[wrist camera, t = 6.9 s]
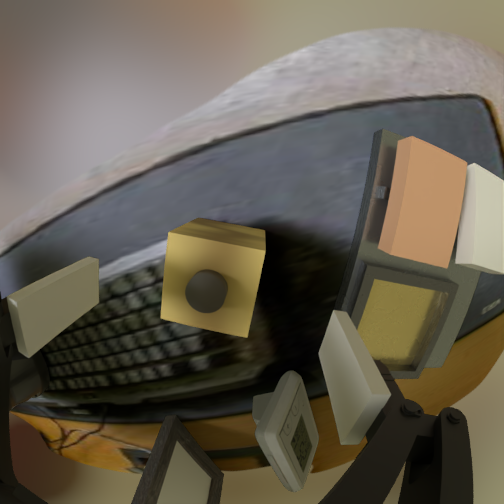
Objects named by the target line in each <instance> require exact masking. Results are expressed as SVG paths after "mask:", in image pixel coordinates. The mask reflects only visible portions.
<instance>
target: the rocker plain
mask: <svg viewBox="0 0 504 504" xmlns="http://www.w3.org/2000/svg"><path fill="white" fill-rule="evenodd" d="M455 264H459V265H462V266H466V267H469V268H473V269H476V270H480V271H483V272H487V273H490V274H504V181H503V180H501V179H500V178H498V177H497V176H495V175H494V174H492V173H490V172H489V171H487V170H486V169H484V168H482V167H481V166H479V165H477V164H475V163H473V164H471V165H469V166H467V171H466V180H465V188H464V195H463V201H462V207H461V213H460V218H459V229H458V241H457V252H456V260H455Z"/></svg>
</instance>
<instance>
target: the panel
mask: <svg viewBox="0 0 504 504" xmlns="http://www.w3.org/2000/svg"><path fill="white" fill-rule="evenodd" d="M405 138H406V137H403V136H400V135H398V134H395V133H393V132H390V131H387V130H385V129H381V130H379V131H377V132H375V133H374V137H373V144H372V150H371V156H370V162H369V168H368V174H367V179H366V184H365V189H364V194H363V199H362V204H361V208H360V213H359V217H358V222H357V226H356V230H355V234H354V239H353V243H352V246H351V250H350V254H349V258H348V262H347V265H346V269H345V272H344V276H343V280H342V283H341V286H340V290H339V293H338V296H337V300H336V303H335V306H334V309H333V310H337V311H343V312H347V314H348V315H349V317H350V319H351V321H352V322H353V324H354V326H355V328H356V330H357V331H358V333H359V335H360V337H361V339H362V340H363V342H364V344H365V346H366V348H367V349H368V351H369V353H370V355H371V357H372V359H373V360H380V361H381V362H382V363H383V364H384V365H385V366H387V368H388V370H389V371H390V373H391V375H392V377H393V378H394V379H418V378H419V376H420V374H421V372H422V371H423V369H424V368H437V367H442V365H443V363H444V361H445V359H446V357H447V355H448V353H449V351H450V349H451V347H452V345H453V343H454V341H455V339H456V337H457V334H458V332H459V330H460V328H461V325H462V323H463V320H464V318H465V316H466V313H467V311H468V308H469V305H470V303H471V300H472V297H473V294H474V291H475V289H476V286H477V283H478V279H479V276H480V273H481V271H480V270H476V269H473V268H469V267H466V266H462V265H459V264H455V260H456V252H457V241H458V229H459V223H458V228H457V233H456V237H455V242H454V246H453V250H452V254H451V257H450V261H449V265H448V268H447V269H446V268H443V267H439V266H435V265H431V264H427V263H423V262H418V261H414V260H410V259H406V258H402V257H398V256H394V255H390V254H388V253H386V252H384V251H382V250H380V249H378V245H379V241H380V237H381V233H382V229H383V224H384V220H385V215H386V210H387V206H388V201H389V195H390V190H391V184H392V179H393V173H394V166H395V160H396V152H397V145H398V141H399V140H402V139H405ZM330 319H331V318H330ZM329 322H330V321H329ZM328 325H329V324H328Z"/></svg>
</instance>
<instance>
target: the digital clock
mask: <svg viewBox="0 0 504 504" xmlns="http://www.w3.org/2000/svg"><path fill="white" fill-rule="evenodd" d="M252 416H253V419H254V421H255V423H256V425H257V428H256V430H255V437H256V439H257V441H258V443H259V445H260V447H261V449H262V451H263V452H264V454H265V456H266V458H267V459H268V461H269V463H270V465H271V466H272V468H273V469H274V471H275V473H276V474H277V476H278V478H279V480H280V481H281V483H282V484H283V486H284V487H285V488H286V489H288V490H289V491H292V492H297V491H299V490H301V489H302V488H303V486H304V484H305V481H306V478H307V475H308V473H309V470H310V467H311V464H312V461H313V458H314V455H315V451H316V448H317V445H318V441H319V435H318V431H317V428H316V424H315V421H314V417H313V414H312V410H311V407H310V403H309V400H308V397H307V393H306V390H305V386H304V383H303V380H302V377H301V376H300V375H299V374H298V373H296V372H295V371H294V370H293V371H288V372H286V373H285V374H284V375H283V376H282V377H281V378H280V380H279V382H278V385H277V387H276V389H275V391H274V392H271V393H266V394H261V395H256V396H254V397H253V411H252Z"/></svg>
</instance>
